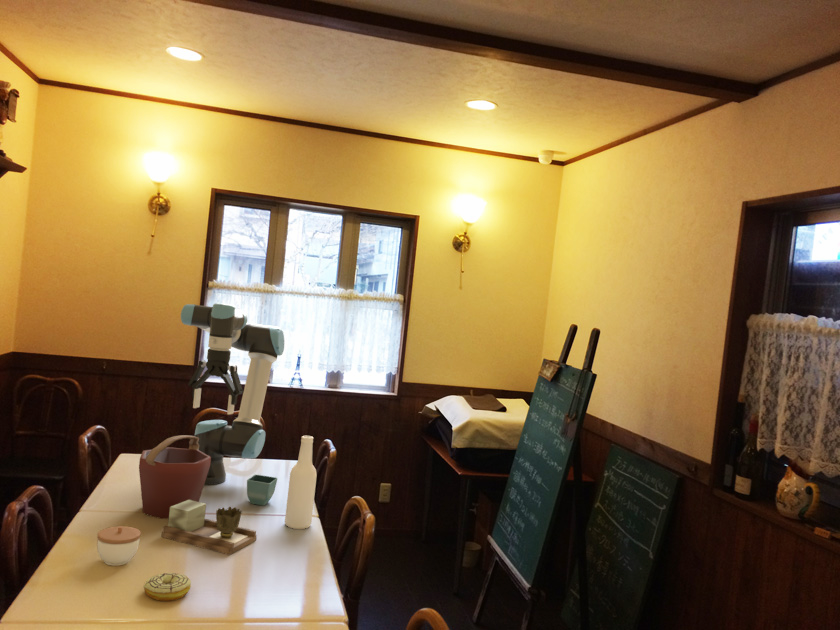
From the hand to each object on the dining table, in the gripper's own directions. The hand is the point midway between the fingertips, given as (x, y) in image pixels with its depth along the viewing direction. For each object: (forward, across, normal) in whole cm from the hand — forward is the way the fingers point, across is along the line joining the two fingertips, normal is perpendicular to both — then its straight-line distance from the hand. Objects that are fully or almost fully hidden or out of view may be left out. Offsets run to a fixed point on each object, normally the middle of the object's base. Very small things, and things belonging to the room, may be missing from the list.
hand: (213, 410), depth 229 cm
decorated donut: (+34, +30, -57) cm, 72 cm away
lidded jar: (+34, +7, -48) cm, 59 cm away
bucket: (+34, -8, -7) cm, 36 cm away
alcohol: (+34, +34, +5) cm, 48 cm away
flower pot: (+35, +12, +18) cm, 41 cm away
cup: (+32, +23, -21) cm, 45 cm away
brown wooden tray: (+34, +17, -21) cm, 43 cm away
